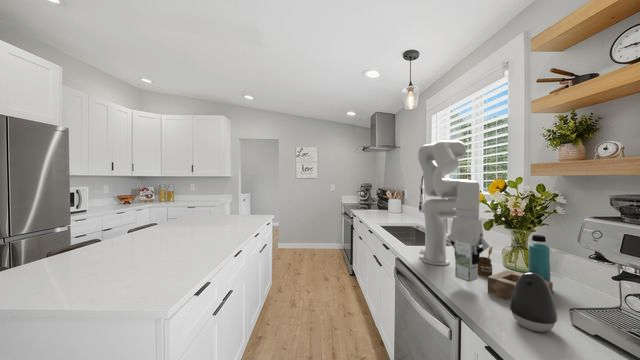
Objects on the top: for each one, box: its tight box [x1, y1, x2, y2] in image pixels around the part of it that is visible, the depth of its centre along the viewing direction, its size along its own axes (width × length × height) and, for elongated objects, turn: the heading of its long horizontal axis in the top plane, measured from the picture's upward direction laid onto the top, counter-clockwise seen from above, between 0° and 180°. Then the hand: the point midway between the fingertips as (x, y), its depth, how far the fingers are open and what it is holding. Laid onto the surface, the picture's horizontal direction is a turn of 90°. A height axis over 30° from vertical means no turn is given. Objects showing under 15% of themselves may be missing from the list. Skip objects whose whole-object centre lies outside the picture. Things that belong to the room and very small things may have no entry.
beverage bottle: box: [527, 234, 552, 282], centre depth 100 cm, size 6×7×20 cm
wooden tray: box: [487, 270, 554, 302], centre depth 92 cm, size 14×14×6 cm
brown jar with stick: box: [478, 246, 493, 278], centre depth 113 cm, size 6×6×12 cm
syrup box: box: [454, 240, 479, 283], centre depth 97 cm, size 6×6×14 cm
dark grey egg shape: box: [509, 271, 558, 333], centre depth 73 cm, size 10×10×15 cm
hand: (466, 260), depth 97 cm, fingers closed on syrup box, 5 cm apart
